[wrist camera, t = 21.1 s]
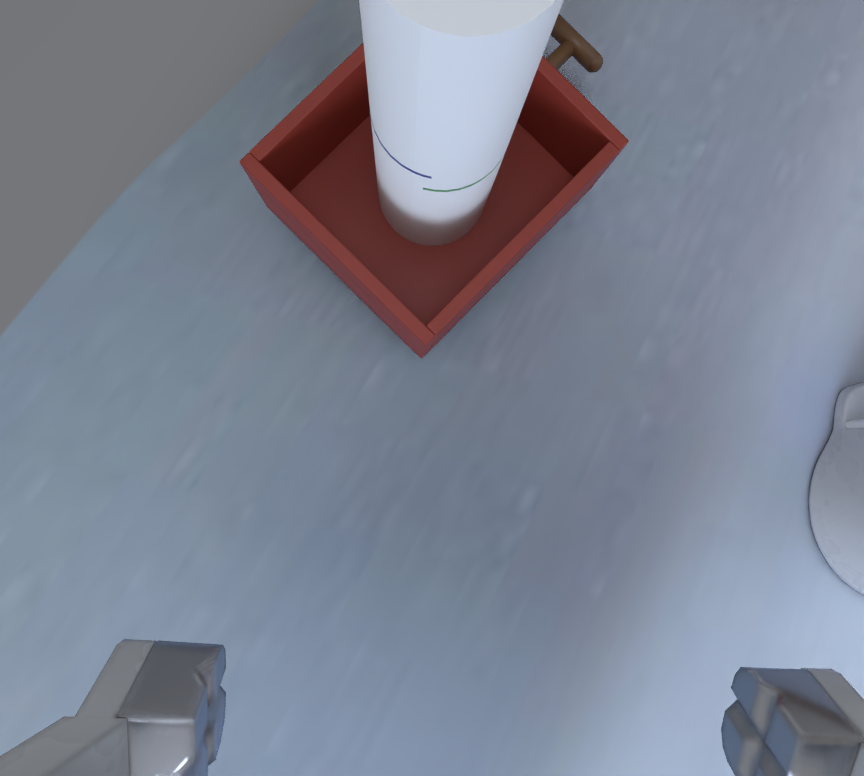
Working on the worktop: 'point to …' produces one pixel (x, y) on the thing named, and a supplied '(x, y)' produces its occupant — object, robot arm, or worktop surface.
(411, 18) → the cylindrical container
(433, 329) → the toy cart
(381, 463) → the worktop surface
